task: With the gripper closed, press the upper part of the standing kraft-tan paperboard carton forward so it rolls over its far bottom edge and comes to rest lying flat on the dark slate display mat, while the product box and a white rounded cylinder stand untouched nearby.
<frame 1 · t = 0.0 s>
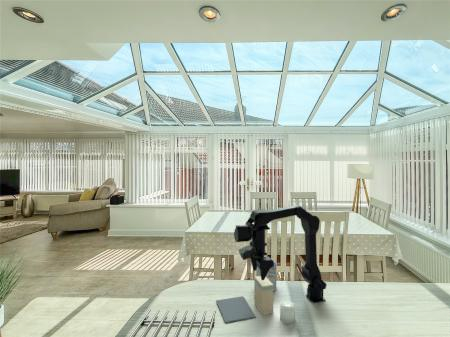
hand: (258, 275, 113), 15 cm above the table, fingers open, 9 cm apart
product box: (266, 288, 131), on the table
white rounded cylinder: (287, 319, 106), on the table
display mat: (235, 309, 113), on the table
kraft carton: (263, 307, 115), on the table
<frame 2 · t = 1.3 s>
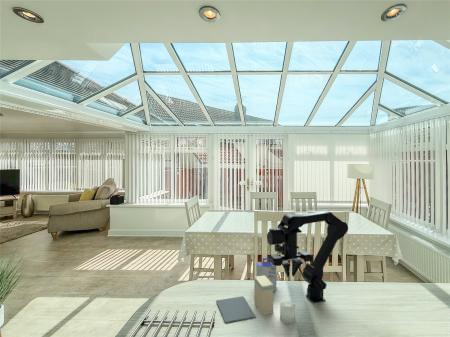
hand: (290, 276, 117), 12 cm above the table, fingers closed
nothing on the table moved.
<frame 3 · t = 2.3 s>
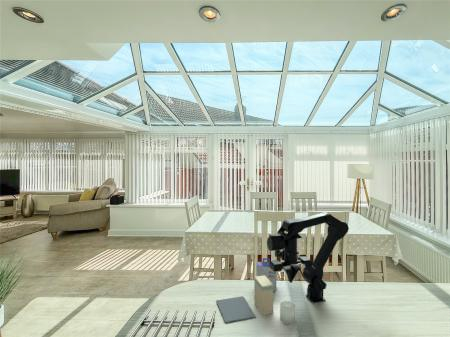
hand: (290, 282, 117), 9 cm above the table, fingers closed
nothing on the table moved.
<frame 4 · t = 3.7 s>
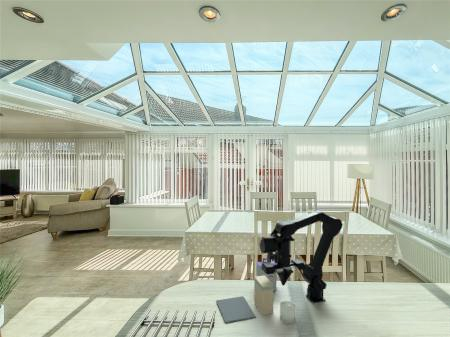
hand: (283, 285, 117), 9 cm above the table, fingers closed
nothing on the table moved.
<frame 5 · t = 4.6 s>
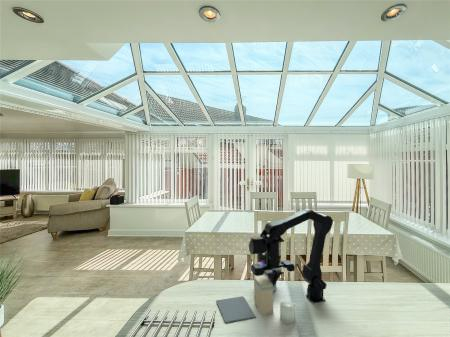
hand: (272, 286, 115), 9 cm above the table, fingers closed
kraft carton: (263, 307, 115), on the table, touching gripper
everything else where it was.
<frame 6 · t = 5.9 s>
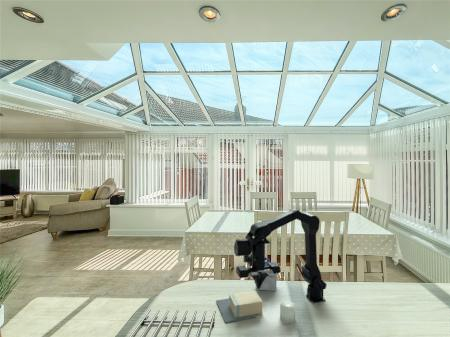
hand: (258, 288, 114), 9 cm above the table, fingers closed
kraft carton: (258, 301, 114), point 3 cm above the table, tilted 90°, touching display mat
everything else where it was.
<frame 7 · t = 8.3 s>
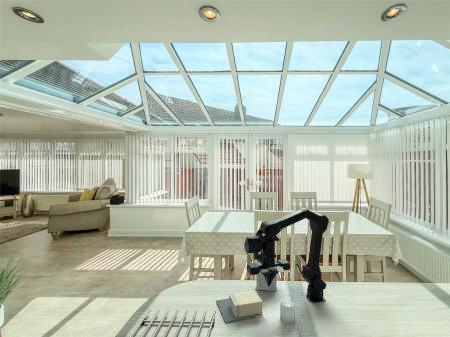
hand: (268, 285, 115), 9 cm above the table, fingers closed
nothing on the table moved.
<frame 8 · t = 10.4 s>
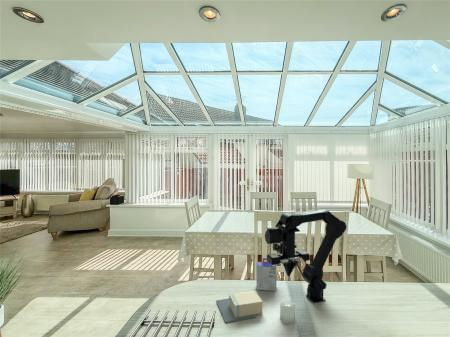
hand: (288, 275, 117), 13 cm above the table, fingers closed
nothing on the table moved.
at the end: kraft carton tilted 90°; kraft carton inside the target area (7.2 cm from its centre), point 3.0 cm above the table; the gripper is holding nothing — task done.
